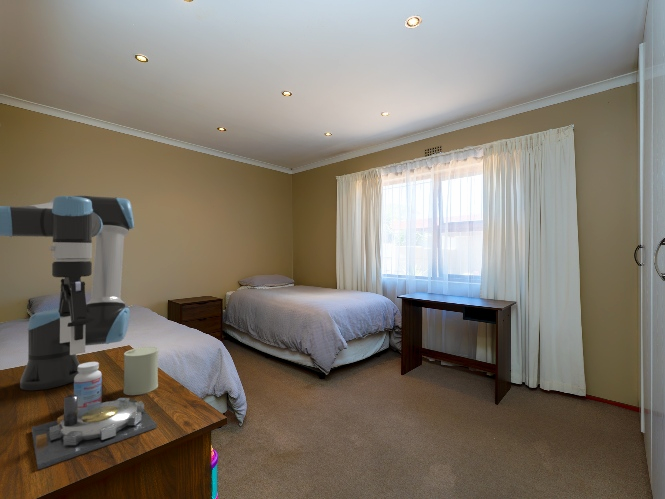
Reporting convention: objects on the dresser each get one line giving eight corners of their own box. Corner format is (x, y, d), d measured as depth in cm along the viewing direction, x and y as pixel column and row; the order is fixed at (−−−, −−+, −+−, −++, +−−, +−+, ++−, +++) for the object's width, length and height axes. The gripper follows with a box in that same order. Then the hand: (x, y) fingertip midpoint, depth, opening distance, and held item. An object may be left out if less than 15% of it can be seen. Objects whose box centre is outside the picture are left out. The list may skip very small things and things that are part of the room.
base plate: (31, 431, 75) (31, 422, 75) (134, 401, 90) (134, 394, 90) (37, 470, 62) (37, 458, 62) (156, 427, 77) (156, 418, 77)
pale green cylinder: (127, 385, 102) (127, 347, 102) (160, 381, 105) (160, 344, 105) (119, 397, 93) (120, 355, 93) (155, 392, 96) (156, 352, 97)
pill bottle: (86, 412, 84) (86, 369, 85) (67, 410, 86) (67, 367, 86) (107, 401, 90) (107, 361, 91) (89, 399, 92) (89, 360, 92)
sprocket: (46, 422, 77) (46, 389, 77) (132, 398, 90) (132, 370, 90) (54, 456, 64) (55, 416, 64) (153, 422, 77) (154, 389, 77)
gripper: (45, 259, 84) (44, 340, 84) (61, 262, 68) (60, 363, 68) (81, 259, 90) (80, 335, 90) (104, 261, 73) (103, 355, 73)
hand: (71, 347), depth 79 cm, fingers open, 13 cm apart
